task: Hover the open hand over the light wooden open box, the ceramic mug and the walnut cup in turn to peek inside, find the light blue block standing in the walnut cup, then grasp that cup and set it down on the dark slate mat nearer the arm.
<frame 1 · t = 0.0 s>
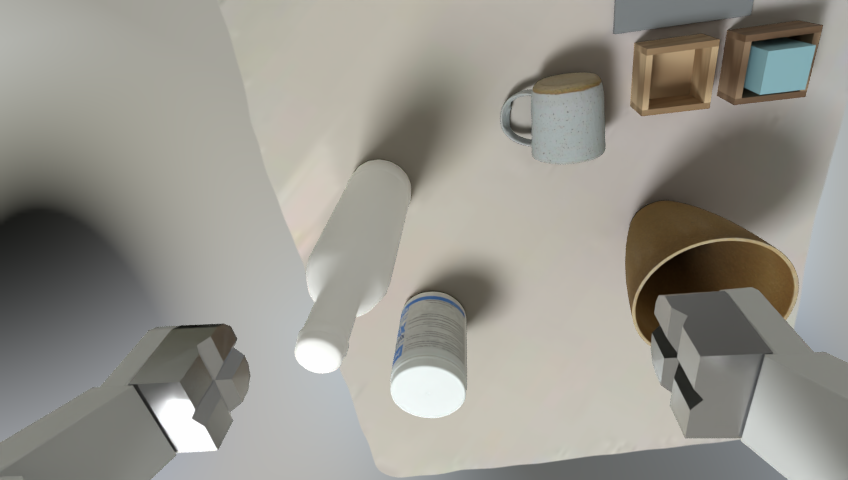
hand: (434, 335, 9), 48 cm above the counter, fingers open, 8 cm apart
bottle: (381, 187, 61), on the counter
light wooden open box: (664, 70, 51), on the counter
supplement tub: (434, 314, 71), on the counter
plant pot: (656, 225, 61), on the counter
ceramic mug: (548, 112, 55), on the counter
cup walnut: (754, 59, 50), on the counter, touching light blue block
light blue block: (756, 59, 50), resting on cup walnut
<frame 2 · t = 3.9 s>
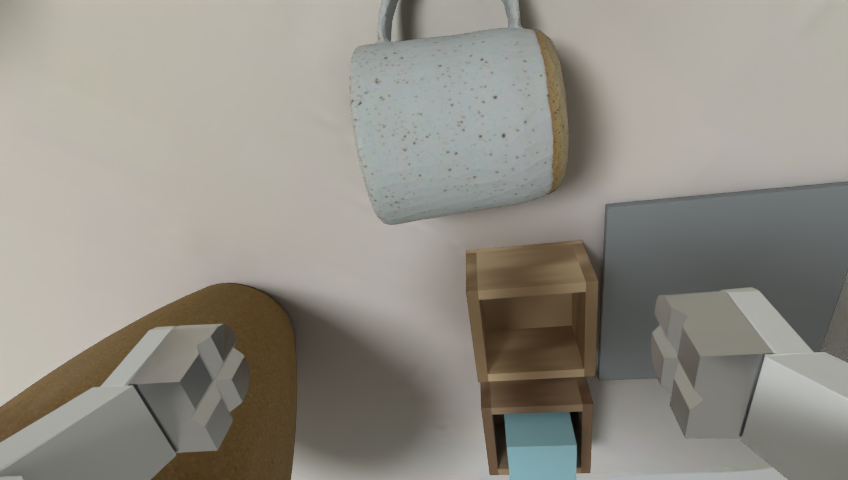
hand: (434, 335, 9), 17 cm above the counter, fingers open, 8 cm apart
light wooden open box: (525, 289, 30), on the counter
plant pot: (243, 321, 33), on the counter
ceramic mug: (451, 76, 24), on the counter
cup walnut: (530, 390, 34), on the counter, touching light blue block
light blue block: (531, 395, 34), resting on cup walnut
slate mat: (715, 291, 28), on the counter
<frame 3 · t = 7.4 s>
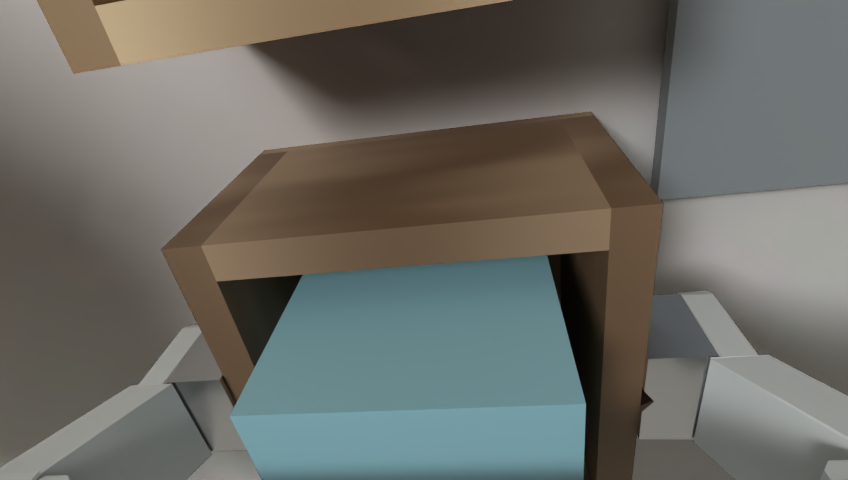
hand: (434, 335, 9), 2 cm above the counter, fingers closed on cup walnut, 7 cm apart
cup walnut: (441, 262, 11), on the counter, touching gripper, light blue block
light blue block: (443, 274, 11), resting on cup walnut
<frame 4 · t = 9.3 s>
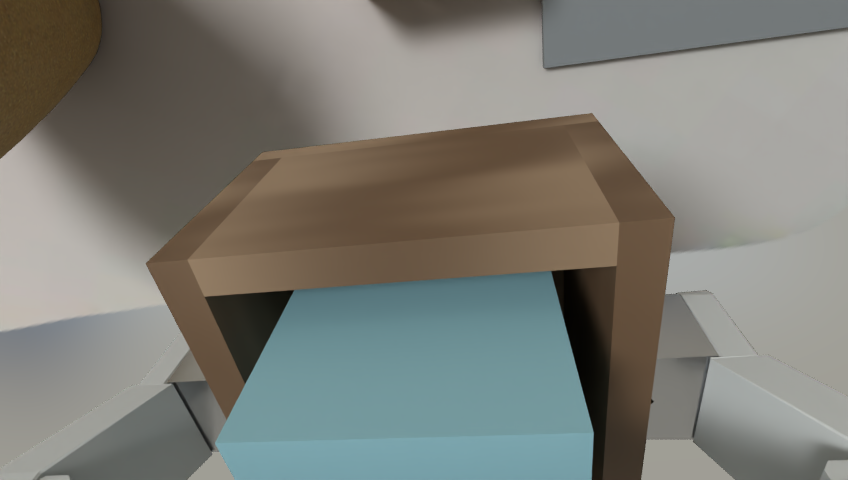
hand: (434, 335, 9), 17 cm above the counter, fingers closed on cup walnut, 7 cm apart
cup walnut: (440, 271, 11), point 14 cm above the counter, touching gripper, light blue block
light blue block: (442, 283, 11), point 15 cm above the counter, touching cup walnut
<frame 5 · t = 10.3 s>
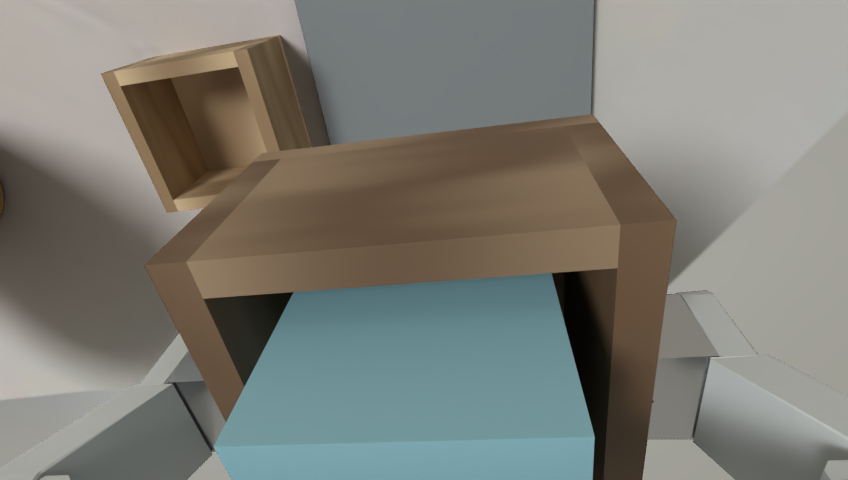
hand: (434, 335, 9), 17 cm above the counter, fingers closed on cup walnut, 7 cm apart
light wooden open box: (240, 112, 25), on the counter
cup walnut: (440, 272, 11), point 15 cm above the counter, touching gripper, light blue block
light blue block: (442, 285, 11), point 15 cm above the counter, touching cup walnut
slate mat: (453, 106, 24), on the counter
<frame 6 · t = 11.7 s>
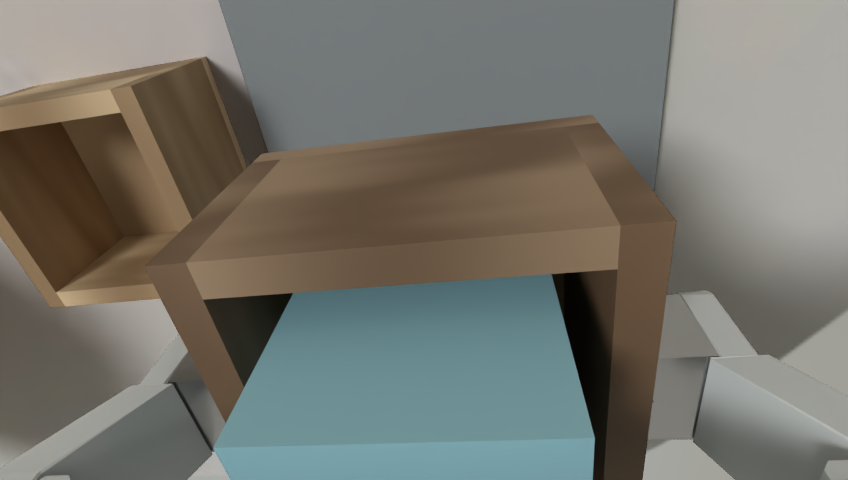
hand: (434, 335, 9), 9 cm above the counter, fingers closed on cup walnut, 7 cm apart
light wooden open box: (162, 161, 18), on the counter
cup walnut: (440, 273, 11), point 7 cm above the counter, touching gripper, light blue block
light blue block: (442, 285, 11), point 7 cm above the counter, touching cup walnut
slate mat: (457, 157, 17), on the counter
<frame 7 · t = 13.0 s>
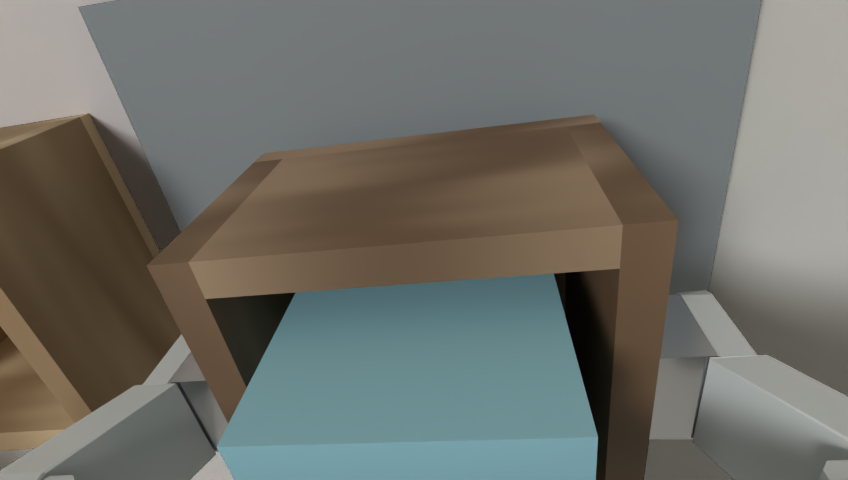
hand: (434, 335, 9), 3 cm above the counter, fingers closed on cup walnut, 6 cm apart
light wooden open box: (49, 243, 14), on the counter
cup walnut: (441, 272, 11), point 1 cm above the counter, touching gripper, light blue block
light blue block: (443, 285, 11), point 2 cm above the counter, touching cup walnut
slate mat: (440, 244, 12), on the counter
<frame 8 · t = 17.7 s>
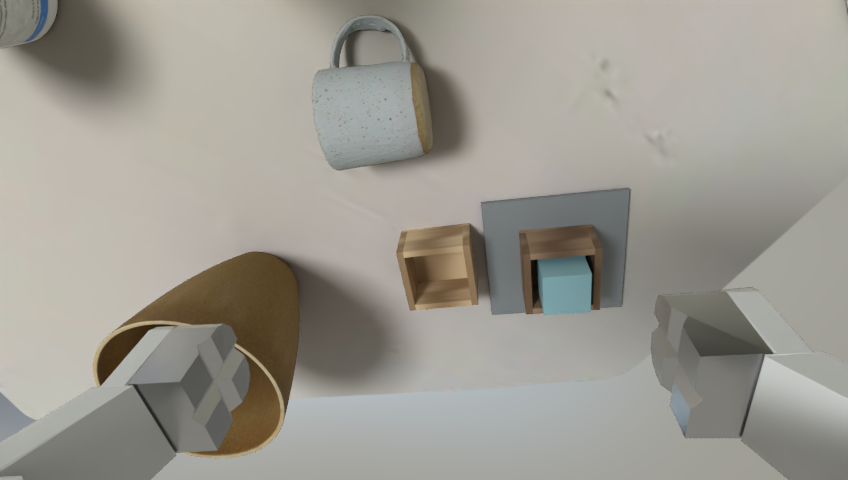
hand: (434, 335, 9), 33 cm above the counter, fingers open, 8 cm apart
light wooden open box: (440, 255, 48), on the counter
plant pot: (264, 277, 51), on the counter
ceramic mug: (377, 86, 40), on the counter
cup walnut: (555, 257, 46), resting on light blue block, slate mat
light blue block: (556, 260, 46), point 1 cm above the counter, touching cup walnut
slate mat: (554, 255, 47), on the counter
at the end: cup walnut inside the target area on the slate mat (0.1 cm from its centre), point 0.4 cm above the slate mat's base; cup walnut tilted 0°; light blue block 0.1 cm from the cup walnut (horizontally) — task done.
